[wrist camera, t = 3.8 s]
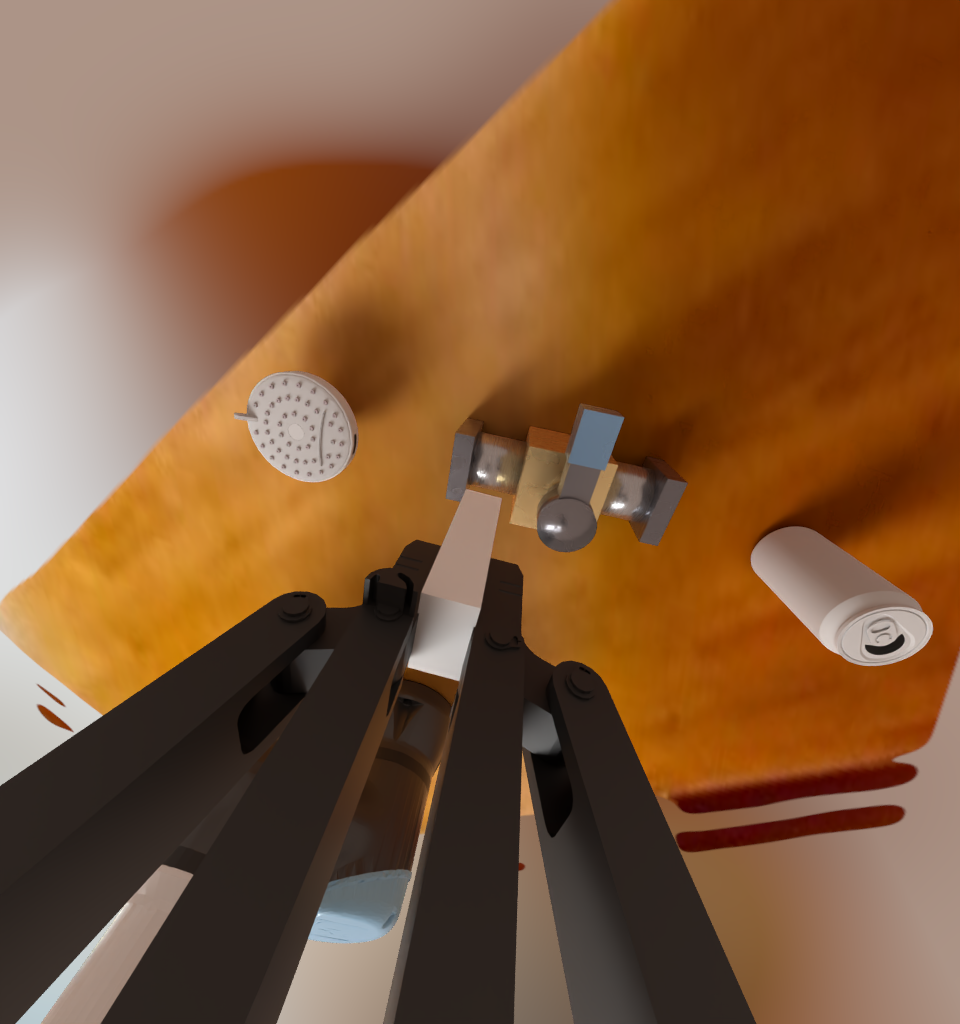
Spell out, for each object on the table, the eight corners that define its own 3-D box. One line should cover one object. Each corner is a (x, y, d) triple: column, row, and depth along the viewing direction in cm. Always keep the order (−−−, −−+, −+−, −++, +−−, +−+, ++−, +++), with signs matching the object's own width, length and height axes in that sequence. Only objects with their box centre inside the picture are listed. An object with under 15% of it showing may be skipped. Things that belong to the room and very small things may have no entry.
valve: (602, 441, 34) (626, 477, 26) (579, 506, 37) (594, 558, 29) (529, 425, 34) (529, 456, 26) (513, 492, 38) (507, 539, 29)
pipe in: (528, 431, 35) (528, 448, 29) (514, 487, 37) (511, 513, 32) (467, 417, 35) (455, 432, 29) (457, 475, 38) (445, 498, 32)
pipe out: (663, 460, 34) (687, 483, 29) (639, 515, 37) (657, 545, 32) (600, 446, 34) (613, 467, 29) (581, 502, 37) (589, 530, 32)
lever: (582, 540, 28) (586, 557, 26) (530, 528, 28) (530, 545, 26) (628, 412, 23) (638, 420, 21) (567, 400, 23) (571, 406, 21)
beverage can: (759, 585, 39) (846, 681, 28) (736, 541, 37) (820, 625, 26) (827, 559, 36) (950, 652, 26) (807, 511, 35) (930, 589, 24)
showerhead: (227, 355, 28) (352, 392, 28) (284, 351, 34) (386, 381, 34) (234, 467, 32) (342, 499, 32) (283, 445, 39) (374, 471, 39)
